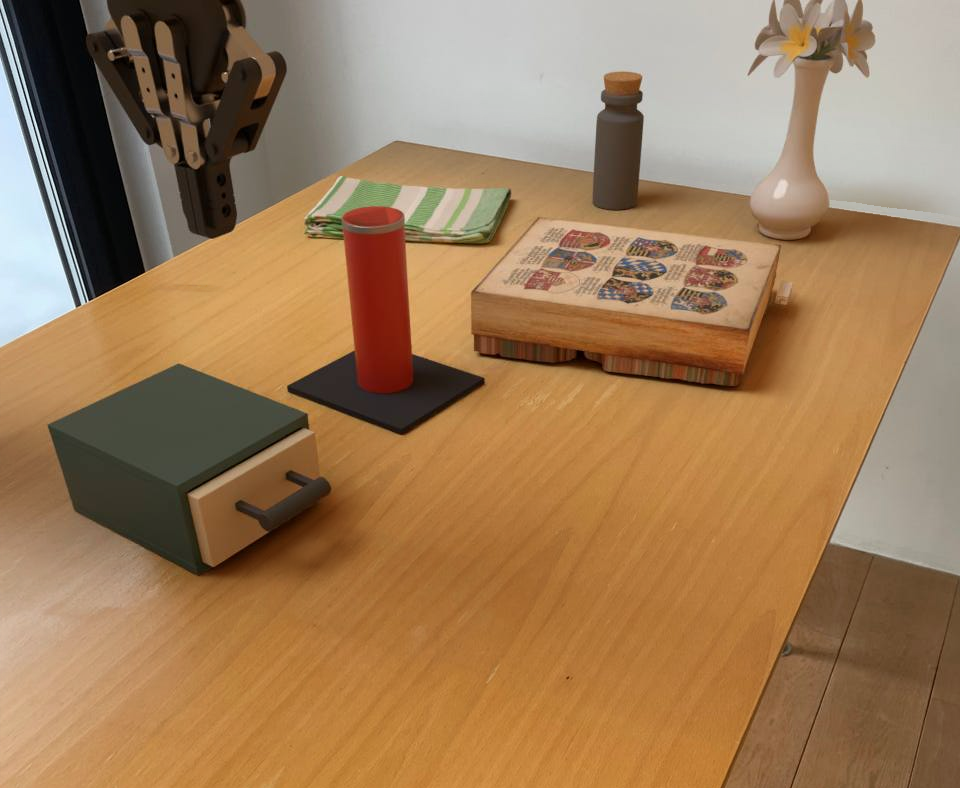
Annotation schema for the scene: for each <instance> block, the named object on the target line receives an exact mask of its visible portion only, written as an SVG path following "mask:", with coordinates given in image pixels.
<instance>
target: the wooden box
mask: <svg viewBox="0 0 960 788" xmlns="http://www.w3.org/2000/svg"><path fill="white" fill-rule="evenodd" d="M781 249H782V245H781V244H775V243H767V242H758V241H757V242H756V241H748V240H741V239H732V238H723V237H714V236H713V237H712V236H704V235H699V234H698V235H697V234H690V233H689V234H688V233H680V232H672V231H662V230H654V229H646V228H645V229H644V228H635V227H629V226H628V227H627V226H620V225H610V224H602V223H594V222H586V221H585V222H584V221H577V220H576V221H575V220H567V219H560V218H550V217H542V216H538V217H537V218H536V219H535V220H534V221H533V222H532V223H531V224H530V226H529V227H528V228H527V229H526V230H525V231H524V232H523V233H522V234H521V236H519V238H518V239H517V240H516V241H515V242H514V244H513V245H512V246H511V247H510V248H509V249H508V250H507V251H506V252H505V254H503V256H502V257H501V258H500V259H499V260H498V262H496V263H495V265H494V266H493V267H492V268H491V269H490V270H489V272H488V273H487V274H486V275H485V276H484V277H483V278H482V279H481V281H480V282H478V284H477V285H476V286H475V287H474V288H473V289H472V291H471V292H470V327H471V329H470V332H471V334H470V335H473V351H474V352H478V353H480V354H485V355H494V356H495V355H497V354H499V356H501V357H502V358H503V357H504V358H511V359H519V360H526V361H534V362H542V363H550V364H551V363H552V364H555V363H559V362H567V361H568V362H569V361H571V360H572V359H575V358H577V351H583V354H584V357H586V358H587V359H588V360H589V361H594V362H597V363H599V364H602V366H601V367H602V369H603V370H604V371H605V372H609V373H619V374H629V375H639V376H645V377H648V376H649V377H655V378H657V377H659V378H661V379H676V380H681V381H686V382H689V383H691V382H693V383H700V384H702V385H703V384H714V385H720V386H728V387H736V386H737V385H740V384H741V383H742V382H743V379H744V376H745V375H746V371H747V369H748V366H749V362H750V358H751V357H750V356H751V352H752V348H753V346H754V342H755V340H756V337H757V335H758V331H759V328H760V326H761V323H762V320H763V317H764V316H766V314H767V311H768V308H769V305H770V301H771V298H772V291H773V289H774V286H775V281H776V278H777V274H778V265H779V260H780V253H781ZM793 285H794V282H793V281H786V280H781V281H780V283H779V286H778V289H777V292H776V295H775V300H774V304H779V305H784V306H785V305H788V303H789V300H790V297H791V294H792V290H793Z"/></svg>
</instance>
